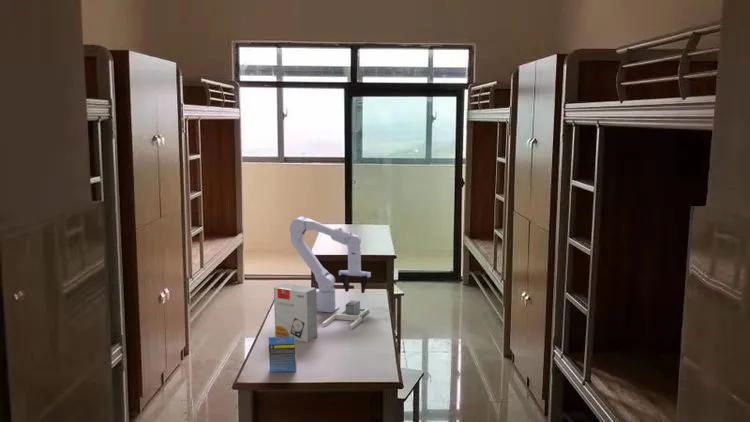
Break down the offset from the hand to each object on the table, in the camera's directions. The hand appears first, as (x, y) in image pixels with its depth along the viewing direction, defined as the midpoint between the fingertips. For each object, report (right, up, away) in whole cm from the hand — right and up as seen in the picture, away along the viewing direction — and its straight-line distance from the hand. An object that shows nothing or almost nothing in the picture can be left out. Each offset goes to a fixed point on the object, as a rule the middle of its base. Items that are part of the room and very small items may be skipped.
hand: (355, 291), depth 292 cm
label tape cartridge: (-22, -18, -69) cm, 74 cm away
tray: (-1, -9, -6) cm, 11 cm away
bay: (-5, -11, -18) cm, 22 cm away
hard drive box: (-22, -14, -34) cm, 43 cm away
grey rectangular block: (-1, -9, -6) cm, 11 cm away
